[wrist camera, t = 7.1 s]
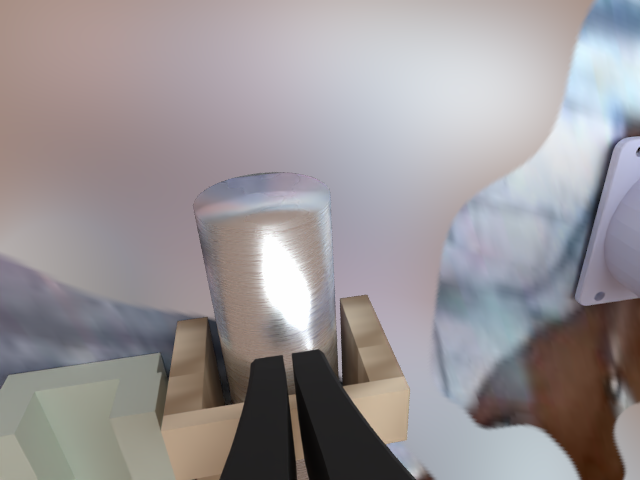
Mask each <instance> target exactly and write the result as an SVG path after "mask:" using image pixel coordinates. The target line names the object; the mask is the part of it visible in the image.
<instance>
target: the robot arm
mask: <svg viewBox="0 0 640 480" xmlns="http://www.w3.org/2000/svg"><path fill="white" fill-rule="evenodd" d="M639 147H640V136H636V137H627V138H624V139H622V140H621V141H619V142H618V143H617V145H616V146H615V148H614V150H613V153H612V157H611V161H610V165H609V169H608V172H607V176H606V180H605V184H604V188H603V191H602V195H601V199H600V203H599V207H598V210H597V214H596V218H595V222H594V226H593V229H592V233H591V237H590V241H589V245H588V248H587V252H586V256H585V260H584V264H583V267H582V271H581V275H580V279H579V282H578V286H577V290H576V294H575V299H576V301H577V302H579V303H580V304H581V305H583V306H589V305H595V304H602V303H608V302H615V301H621V300H628V299H635V298H640V150H639V151H638V152H637V153H636V151H637V149H638V148H639ZM292 363H293V373H294V383H295V392H296V402H297V412H298V421H299V427H300V434H301V441H302V447H303V454H304V460H305V465H306V469H307V474H308V478H309V480H416V479H415V478H414V477H413V476H412V475H411V474H410V472H409V471H408V470H407V469H406V468H405V467H404V466H403V465H402V463H401V462H400V461H399V460H398V459H397V458H396V457H395V455H394V454H393V453H392V452H391V451H390V449H389V448H388V447H387V446H386V445H385V443H384V442H383V441H382V440H381V439H380V437H379V436H378V435H377V433H376V432H375V431H374V430H373V428H372V427H371V426H370V424H369V423H368V422H367V420H366V419H365V418H364V416H363V415H362V414H361V412H360V411H359V410H358V408H357V407H356V405H355V404H354V403H353V401H352V400H351V398H350V397H349V395H348V394H347V392H346V391H345V389H344V388H343V386H342V385H341V383H340V381H339V380H338V378H337V377H336V375H335V373H334V371H333V370H332V368H331V366H330V364H329V362H328V360H327V358H326V356H325V354H324V352H322V351H321V350H319V349H316V350H310V351H303V352H297V353H292ZM219 480H297V467H296V457H295V448H294V439H293V430H292V421H291V413H290V404H289V395H288V386H287V378H286V372H285V365H284V359H283V355H278V356H271V357H265V358H258V359H255V360H254V361H253V362H252V363H251V365H250V376H249V383H248V388H247V393H246V397H245V401H244V405H243V409H242V413H241V417H240V420H239V423H238V427H237V430H236V433H235V437H234V440H233V443H232V446H231V449H230V452H229V455H228V457H227V460H226V463H225V465H224V468H223V471H222V474H221V476H220V479H219Z"/></svg>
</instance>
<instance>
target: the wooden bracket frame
mask: <svg viewBox="0 0 640 480" xmlns="http://www.w3.org/2000/svg"><path fill="white" fill-rule="evenodd" d="M340 314H341V346H342V380H343V388H344V389H345V391H346V392H347V394H348V395H349V397H350V398H351V400H352V401H353V403H354V404H355V405H356V407H357V408H358V410H359V411H360V412H361V414H362V415H363V416H364V418H365V419H366V420H367V422H368V423H369V424H370V426H371V427H372V428H373V430H374V431H375V432H376V433H377V435H378V436H379V437H380V439H381V440H382V441H383V442H384V443H385V445H386V444H388V443H394V442H399V441H405V440H407V428H408V413H409V397H410V388H409V386H408V384H407V382H406V379H405V377H404V375H403V373H402V371H401V368H400V366H399V364H398V362H397V360H396V357H395V355H394V353H393V351H392V348H391V346H390V344H389V342H388V340H387V338H386V335H385V333H384V331H383V329H382V327H381V324H380V322H379V320H378V318H377V315H376V313H375V311H374V309H373V306H372V304H371V302H370V300H369V298H368V295H361V296H354V297H347V298H341V299H340ZM289 404H290V413H291V421H292V430H293V439H294V448H295V457H296V460H301V459H304V454H303V447H302V441H301V434H300V427H299V421H298V412H297V402H296V394H293V395H289ZM243 405H244V403H238V404H232V405H226V406H225V402H224V397H223V392H222V387H221V382H220V377H219V372H218V367H217V362H216V357H215V352H214V347H213V342H212V337H211V332H210V327H209V322H208V317H204V318H197V319H190V320H183V321H178V323H177V329H176V336H175V342H174V349H173V355H172V362H171V369H170V375H169V382H168V388H167V395H166V401H165V408H164V415H163V421H162V428H161V433H162V436H163V440H164V443H165V446H166V449H167V453H168V456H169V459H170V462H171V466H172V469H173V472H174V475H175V479H176V480H191V479H197V480H219V479H220V476H221V474H222V471H223V468H224V465H225V463H226V460H227V457H228V455H229V452H230V449H231V446H232V443H233V440H234V437H235V433H236V430H237V427H238V423H239V420H240V417H241V413H242V409H243Z"/></svg>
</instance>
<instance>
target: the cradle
mask: <svg viewBox="0 0 640 480" xmlns="http://www.w3.org/2000/svg"><path fill="white" fill-rule="evenodd" d="M167 388H168V379H167V375H166V371H165V368H164V364H163V361H162V357H161V353H155V354H148V355H141V356H135V357H128V358H121V359H114V360H107V361H101V362H94V363H87V364H80V365H74V366H67V367H60V368H53V369H46V370H40V371H33V372H26V373H19V374H13V375H8V377H7V379H6V381H5V382H4V384H3V386H2V388H1V389H0V480H176V479H175V475H174V472H173V469H172V466H171V462H170V459H169V456H168V453H167V449H166V446H165V443H164V440H163V436H162V433H161V428H162V421H163V415H164V408H165V401H166V395H167ZM191 480H195V479H191Z"/></svg>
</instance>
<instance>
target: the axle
mask: <svg viewBox="0 0 640 480" xmlns="http://www.w3.org/2000/svg"><path fill="white" fill-rule="evenodd" d="M193 207H194V213H195V218H196V223H197V228H198V233H199V238H200V243H201V248H202V253H203V258H204V263H205V268H206V273H207V278H208V283H209V288H210V293H211V298H212V303H213V308H214V313H215V318H216V323H217V328H218V333H219V338H220V343H221V348H222V353H223V358H224V363H225V368H226V373H227V378H228V383H229V388H230V393H231V398H232V403H233V404H238V403H244V401H245V397H246V393H247V388H248V383H249V376H250V365H251V363H252V362H253V361H254V360H255V359H258V358H265V357H271V356H278V355H283V359H284V365H285V372H286V378H287V386H288V395H293V394H296V392H295V383H294V373H293V363H292V353H297V352H303V351H310V350H316V349H319V350H321V351H322V352H324V354H325V356H326V358H327V360H328V362H329V364H330V366H331V368H332V370H333V371H334V373H335V375H336V377H337V378H338V355H337V334H336V311H335V290H334V289H335V288H334V266H333V243H332V221H331V199H330V190H329V188H328V186H327V185H325V184H324V183H323V182H321V181H320V180H318V179H316V178H313V177H310V176H306V175H302V174H296V173H285V172H271V173H270V172H269V173H257V174H250V175H244V176H240V177H235V178H232V179H228V180H225V181H223V182H220V183H217V184H215V185H213V186H211V187H209V188H208V189H206V190H204V191H203V192H202V193H201V194H200V195H199V196H198V197H197V198H196V200H195V202H194V204H193ZM338 380H339V378H338ZM296 467H297V480H309V478H308V474H307V469H306V465H305V460H304V459H301V460H296Z"/></svg>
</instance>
